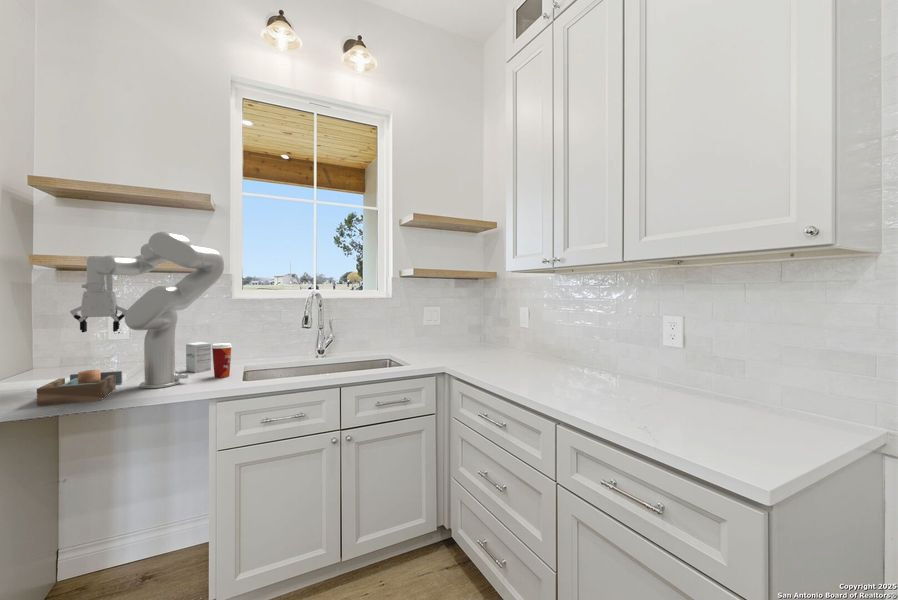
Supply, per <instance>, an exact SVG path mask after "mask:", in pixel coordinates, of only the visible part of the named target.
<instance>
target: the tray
mask: <svg viewBox="0 0 898 600" xmlns="http://www.w3.org/2000/svg"><path fill="white" fill-rule="evenodd" d="M100 372H101V380H103V379H104V378H106V377H107V376H109V375H115V382H116V385H122V384H123V370H117V371H116V370H115V371H100ZM87 384H96V383H87ZM72 385H85V384H78V373H72V374H69V381H67V382H65V384H63V385H61V386H72Z"/></svg>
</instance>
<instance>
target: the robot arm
mask: <svg viewBox="0 0 898 600" xmlns="http://www.w3.org/2000/svg"><path fill="white" fill-rule="evenodd" d="M166 262H171V263H174V264H175V265H178V266H180V267H182V268H187V269H195V270H193V271H192V272H190V273H188V274H187V275H185V276H184V277H183V278H182V279H181V280H180V281H178V282H177V283H175V284H172V285H159V286H155V287H152V288H151V289H150V288H149V290H147V291H146V292H145V293H144V294H143V295H142V296H140V298H138V299H137V300H136V301H135V302H134V303H133V304H132V305H131V306H130V307H128V309H126V308H123V307H122V306H119V305H118V301H117V296H116V292H115V291H113V290H114V287H113V284H114V283H113V281H114V280H113V279H114V278H113V277H114V276H128V277H132V276H139V275H143V274H147V273H148V272H152V271H154V270H155V269H156V268H157V267H158V266H159V265H160V264H163V263H166ZM224 269H225V260H224V258H223V256H222V254H221V253H220V252H219V251H218V250H216V249H214V248H211V247H210V248H209V247H206V246H205V247H204V246H199V245H193V244H192V242H191V240H190V239H189V238H188V237H186V236H185V235H182V234H178V233H172V232H168V231H157V232H156V233H153V234H152V235H151V236H149V239H148V243H145V244H143V245H142V246H141V247H140V255H137V256H133V257H131V256H122V255H120V256H119V255H103V256H102V255H91V256H88V257H87V258H86V283H85V284H81V288H82V289H85V290H86V291H85V290H84V291H83V293H82V299H81V306H79V307H76V308H73V309H71V310H70V311H69V313H70V314H71V316H73V318H74V319H75V320H77V321H78V323H79V330H80V331H81V333H86V332H87V331H88V322H87V321H86V320H87V319H88V318H96V317H97V318H101V317H103V318H107V317H110V318H112V319H113V320H114V321H113V322H112V331H113V332H118V331H119V330H120V321H122V320H123V319H124V323H125V325H126V326H127V327H128V328H129V329H131V330H132V331H133V330H134V331H146V334H145V335H144V340H143V343H144V344H143V350H144V351H143V352H144V353H143V354H144V355H143V356H144V357H143V358H144V362H143V363H144V364H143V365H144V372H143V373H144V381H143V382H140V383H139V388H141V389H161V388H166V387H172V386H175V385H178V384H179V383H180V382H181V381H180V379H189V373H183V372H182V373H178V371H177V370H176V367H175V366H176V362H175V359H176V358H175V357H176V355H175V353H176V351H175V347H176V341H175V339H176V336H175V335H176V327H177V322H178V311H183V310H185V309H187V308H189V307H190V306H191V305H192V304H193V303H194V302H195V301H196V300H197V299H198V298H199V297H201V296H202V295H203V294H204V293H205V292H206V291H207V290H208V289H209V288H211V287H212V286H213V285H214V284H216V282H218V280H219V279H220V278H221V277H222V274H223V272H224ZM79 311H80V315H79V314H78V312H79ZM118 311H119V312H121V314H120V315H118Z"/></svg>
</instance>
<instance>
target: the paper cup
mask: <svg viewBox="0 0 898 600" xmlns="http://www.w3.org/2000/svg"><path fill="white" fill-rule="evenodd" d="M232 347H233V346H232V342H231V343H229V342H227V343H226V342H222V343H213V344H211V353H212V363H213V374H214V375H213V377H214V378H215V379H224V378H228V377H230V373H231V357H232Z"/></svg>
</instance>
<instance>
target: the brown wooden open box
mask: <svg viewBox="0 0 898 600" xmlns="http://www.w3.org/2000/svg"><path fill="white" fill-rule="evenodd" d="M65 383H66V378H63V377H61V378H58V379H55V380H53V381H51V382H49V383H46V384H44V385H42V386H40V387H38V388H36V406H37V407H42V406H43V407H44V406H51V405H52V406H53V405H64V404H75V403H84V402H85V403H87V402H95V401H102V400H103V399H105V398H106V397H107V396H109V395H110V394H111V393H113V392H114V391H115V390H116V389H117V388H116V387H117V386H116V385H117V384H116V382H115V375H109V376H107V377H106V378H104V379H103V380H101V381H99V382H98V383H96V384H85V385H72V386H61V385H63V384H65ZM113 390H114V391H113ZM112 391H113V392H112ZM110 392H111V393H110ZM109 393H110V394H109ZM108 394H109V395H108ZM106 395H107V396H106ZM105 396H106V397H105ZM104 397H105V398H104ZM102 398H103V399H102ZM101 399H102V400H101Z"/></svg>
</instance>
